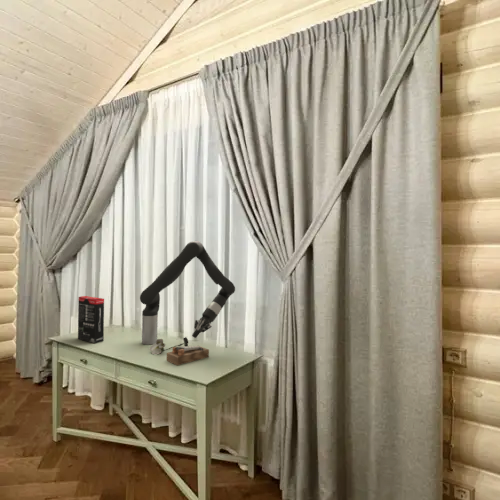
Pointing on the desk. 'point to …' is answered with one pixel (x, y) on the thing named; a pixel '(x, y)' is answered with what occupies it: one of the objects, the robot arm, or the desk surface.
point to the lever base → (186, 355)
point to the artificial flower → (160, 346)
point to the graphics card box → (91, 319)
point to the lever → (188, 348)
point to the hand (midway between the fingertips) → (193, 336)
